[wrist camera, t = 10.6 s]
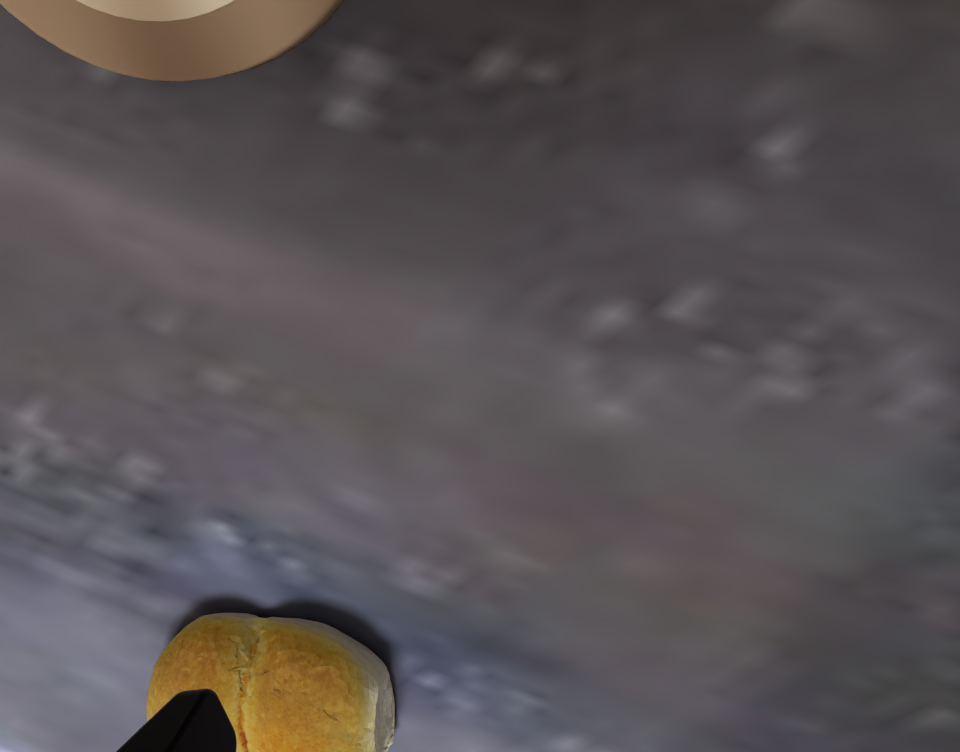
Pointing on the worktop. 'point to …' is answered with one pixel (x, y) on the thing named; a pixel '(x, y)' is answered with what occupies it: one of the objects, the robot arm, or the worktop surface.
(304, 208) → the worktop surface
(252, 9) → the tan round plate
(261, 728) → the bread roll
